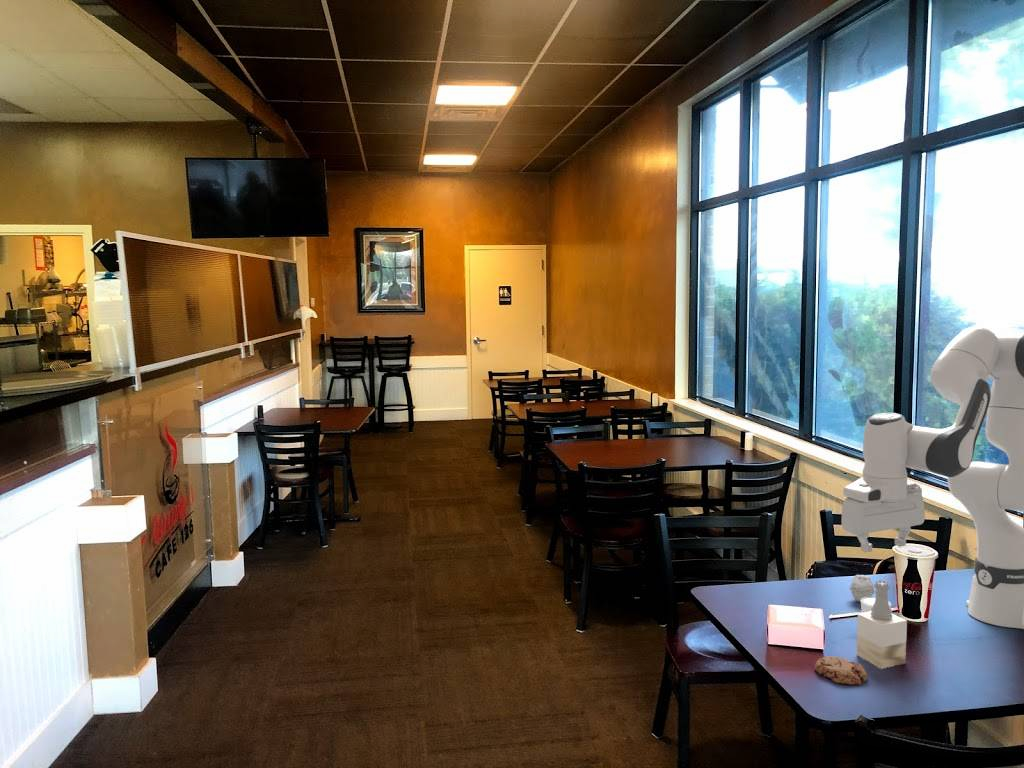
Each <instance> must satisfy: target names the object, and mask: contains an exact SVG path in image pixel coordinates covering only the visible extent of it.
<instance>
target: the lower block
mask: <svg viewBox="0 0 1024 768" xmlns="http://www.w3.org/2000/svg"><path fill="white" fill-rule="evenodd" d="M906 650H907V641H906V642H905V643H900V644H896V645H891V646H887V647H880V646H878V645H876V644H874V643H872V642H870V641H868V640H866V639H864V638H862V637H860V636H858V635H857V634H856V656H857V655H858V656H860V657H862V658H863V659H862V658H861V659H862V660H864V659H865V660H867V661H869V662H870V663H869V662H868V663H869V664H871V663H872V664H874V665H875V666H874V665H873V666H874V667H876V666H877V667H876V668H878V669H880V670H883V669H887V667H888V668H891V667H895V665H897V666H900V665H905V664H906V663H907V662H906V661H907V660H906V655H907V651H906ZM858 656H857V657H858ZM860 657H859V658H860ZM865 660H864V661H865ZM867 661H866V662H867ZM872 664H871V665H872Z"/></svg>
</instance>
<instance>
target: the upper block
mask: <svg viewBox="0 0 1024 768" xmlns="http://www.w3.org/2000/svg"><path fill="white" fill-rule="evenodd" d="M871 612H872V611H869V612H864V613H862V612H860V613H857V630H856V632H857V634H856V636H857V635H858V636H860V637H862V638H864V639H866V640H868V641H870V642H872V643H874V644H876V645H878V646H880V647H887V646H891V645H896V644H900V643H905V642H906V643H907V637H908V636H907V632H908V631H907V630H908V629H907V628H908V626H907V625H908V620H907V619H905V618H903V617H900V616H898V615H896V614H894V613H892V614H891V615H892V618H891V619H890V620H879V619H876V618H874V617H873V616H872V615H871Z"/></svg>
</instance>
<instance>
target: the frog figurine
mask: <svg viewBox="0 0 1024 768" xmlns="http://www.w3.org/2000/svg"><path fill="white" fill-rule="evenodd" d="M849 590H850V592H851V595H852V597H853V599H854V600H855V601H857V602H859V603H861V599H862V598H865V597H873V595H874V594H875V591H876V588H875V587H874V582H872V581H871V576H868V575H867V576H866V575H864V574H855V576H854V578H853V580H852V581H851V584H850V585H849Z"/></svg>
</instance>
